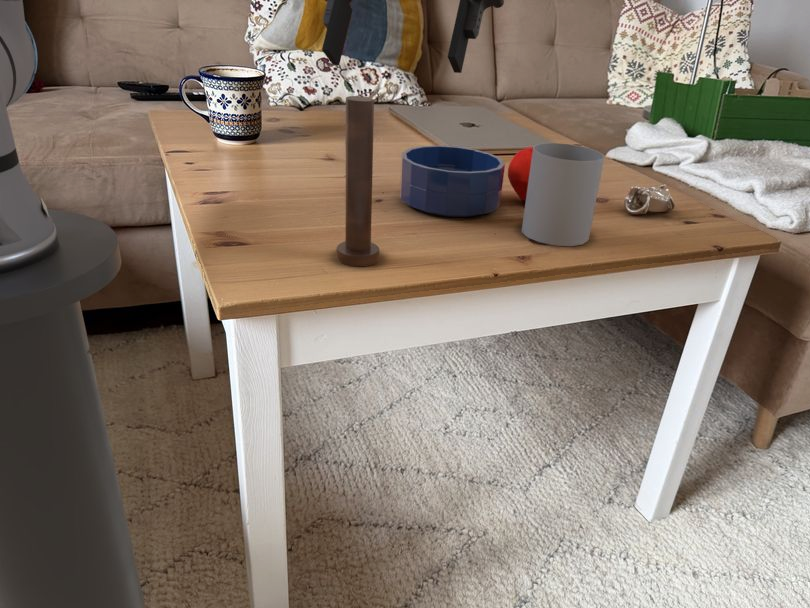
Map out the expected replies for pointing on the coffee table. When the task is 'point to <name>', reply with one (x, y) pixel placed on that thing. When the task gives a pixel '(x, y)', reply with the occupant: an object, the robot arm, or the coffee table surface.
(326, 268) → the coffee table surface
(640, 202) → the ornament
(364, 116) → the cylinder with round base
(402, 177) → the bowl
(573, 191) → the cup
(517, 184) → the apple
